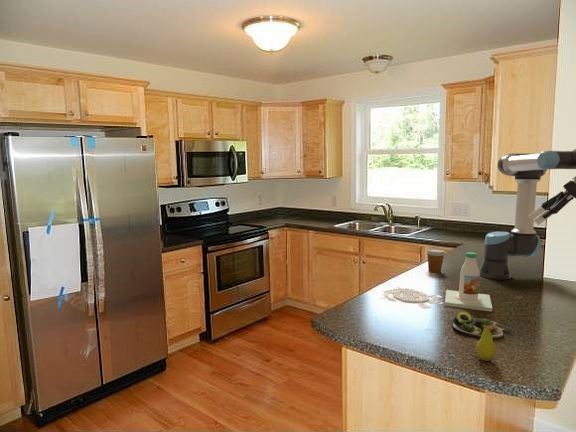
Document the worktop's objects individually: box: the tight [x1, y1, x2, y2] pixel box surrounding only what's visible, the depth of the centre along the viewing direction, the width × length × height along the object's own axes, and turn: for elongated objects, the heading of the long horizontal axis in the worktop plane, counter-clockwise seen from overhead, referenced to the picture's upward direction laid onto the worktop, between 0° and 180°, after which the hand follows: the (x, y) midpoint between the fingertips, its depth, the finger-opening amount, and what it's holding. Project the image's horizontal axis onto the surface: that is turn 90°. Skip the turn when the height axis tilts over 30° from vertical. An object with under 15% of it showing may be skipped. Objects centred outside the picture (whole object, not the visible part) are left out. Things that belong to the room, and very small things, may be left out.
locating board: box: [444, 289, 493, 313], centre depth 177 cm, size 18×18×2 cm
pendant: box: [383, 286, 444, 309], centre depth 183 cm, size 21×28×1 cm
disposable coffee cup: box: [426, 248, 446, 274], centre depth 225 cm, size 10×10×12 cm
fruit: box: [475, 320, 497, 362], centre depth 125 cm, size 6×6×12 cm
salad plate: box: [451, 310, 512, 339], centre depth 148 cm, size 19×18×5 cm
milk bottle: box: [458, 251, 481, 300], centre depth 176 cm, size 8×8×20 cm
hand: (532, 220), depth 174 cm, fingers open, 13 cm apart
